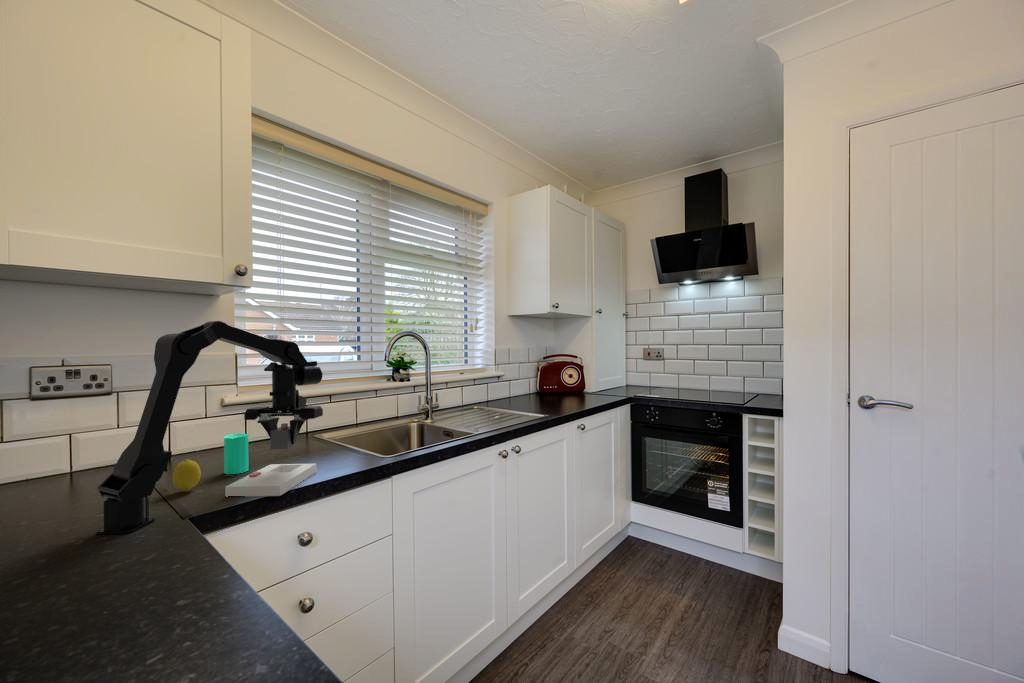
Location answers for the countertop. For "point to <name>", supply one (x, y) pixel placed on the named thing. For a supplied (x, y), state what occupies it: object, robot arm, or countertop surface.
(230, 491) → the socket plate
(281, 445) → the plug
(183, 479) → the lemon
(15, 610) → the countertop surface
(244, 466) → the candle
